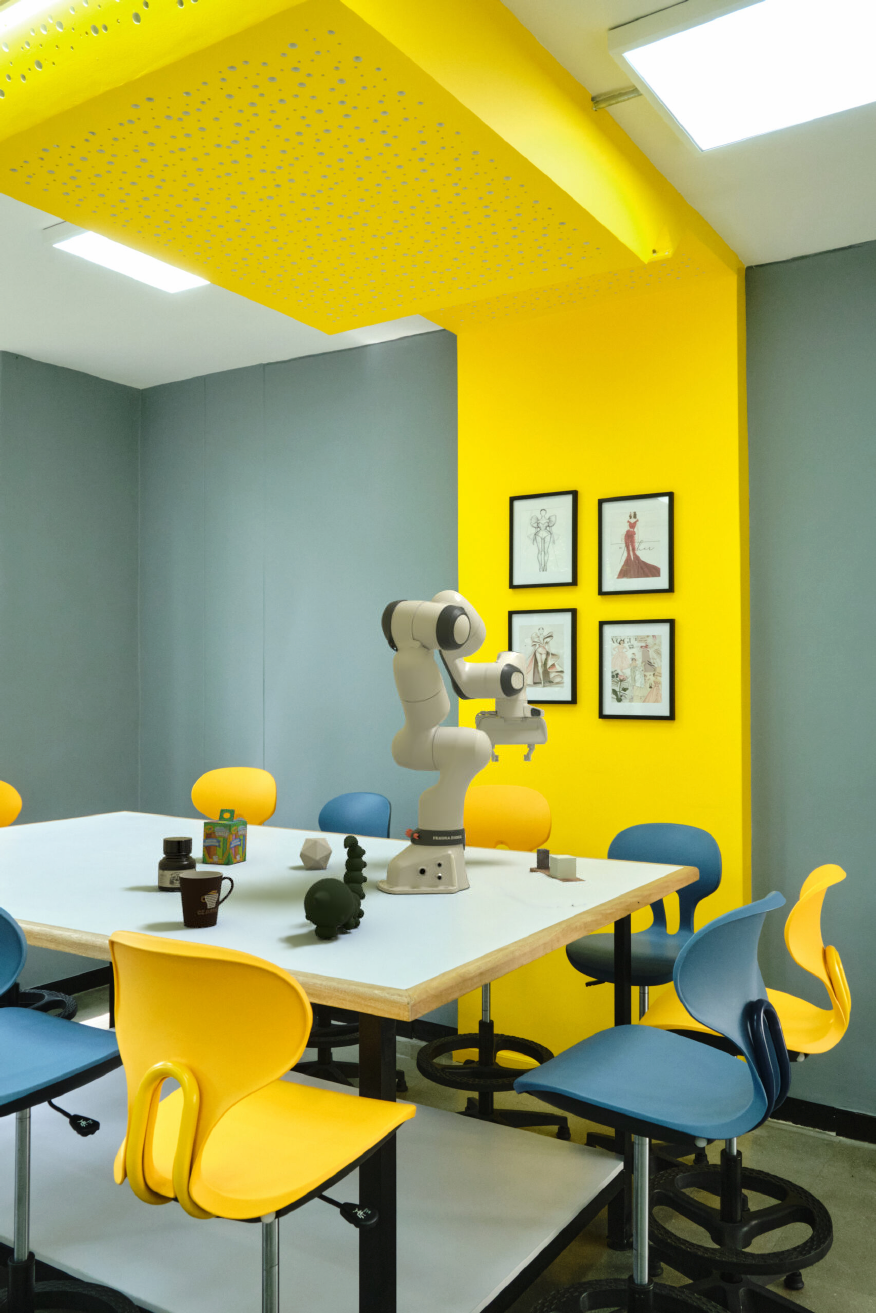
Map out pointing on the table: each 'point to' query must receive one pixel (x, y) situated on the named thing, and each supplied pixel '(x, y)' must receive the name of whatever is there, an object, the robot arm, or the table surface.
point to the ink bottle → (175, 862)
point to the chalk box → (224, 840)
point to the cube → (562, 866)
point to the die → (315, 853)
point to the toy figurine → (338, 896)
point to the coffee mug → (201, 897)
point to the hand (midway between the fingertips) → (511, 761)
